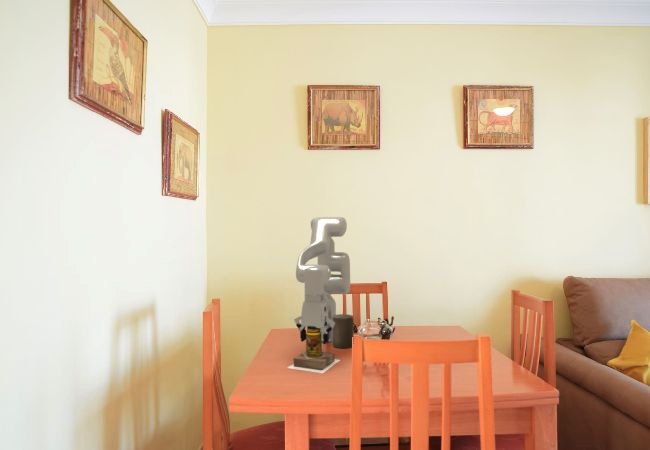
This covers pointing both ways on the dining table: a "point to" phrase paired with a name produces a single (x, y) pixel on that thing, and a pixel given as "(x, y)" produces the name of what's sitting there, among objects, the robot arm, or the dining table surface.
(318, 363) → the plinth
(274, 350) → the dining table surface
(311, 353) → the condiment
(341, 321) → the pillar candle
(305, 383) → the dining table surface
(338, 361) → the base board
